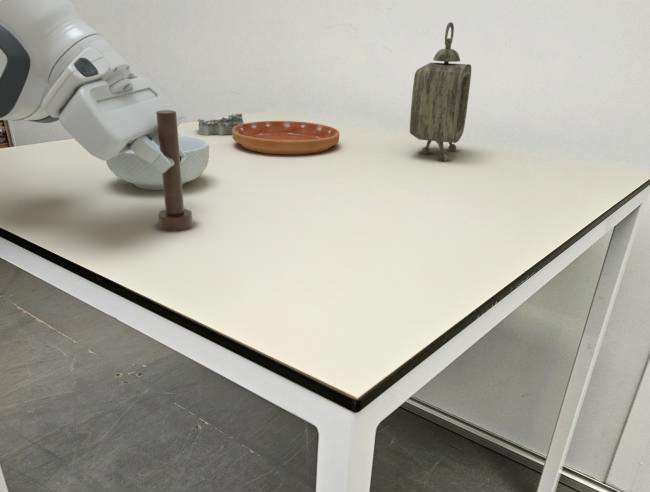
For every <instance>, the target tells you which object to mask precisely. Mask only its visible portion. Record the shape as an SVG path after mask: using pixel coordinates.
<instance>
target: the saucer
mask: <svg viewBox="0 0 650 492" xmlns="http://www.w3.org/2000/svg"><path fill="white" fill-rule="evenodd" d="M231 135H232V140H233V141H235V142H236V143H238V144H240V145H241V147H243V148H244V149H247V150H250V151H253V152H257V153H262V154H267V155H268V154H269V155H280V156H281V155H283V156H285V155H286V156H287V155H289V156H292V155H294V156H295V155H296V156H297V155H298V156H299V155H308V154H309V155H310V154H315V153H316V154H317V153H321V152H325V151H328V150H329V149H331V147H333V146H335V145H337V144H338V143H339V142H340V131H339V130H338V129H337V128H335V127H332V126H329V125H325V124H321V123H314V122H306V121H293V120H261V121H252V122H244V124H241V125H237V126H235V127H234V128H233V129H232V134H231Z"/></svg>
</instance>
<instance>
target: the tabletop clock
mask: <svg viewBox="0 0 650 492" xmlns="http://www.w3.org/2000/svg"><path fill="white" fill-rule="evenodd" d="M449 31H450V37H449V38H448V35H449ZM454 32H455V27H454V23H453V22H452V21H450V22H448V23H447V25H446V28H445V34H444V46H445V47H444V48H441V49H439V50H438V51H437V52H436V53H435V55H434V57H433V59H432V60H433V61H435V62H428V63H426V64H425V65H423V66H421V67H419V68H418V69H417V70H416V71H415V72H414V77H413V84H412V85H413V86H412V95H411V104H410V120H409V134H410V135H411V136H413V137H414V138H416V139H417V140H419V141H426V144H425V145H426V146H425V147H423V148H422V149H421V154H422V155H429V153H430V151H431V150H430V148H429V147H430V145H431V143H432V142H435V143H436V144H437V145H438V148H439V151H440V155H439V161H440V162H447V161H448V158H449V157H448V155H447V154H446V153H445V151H444V143H448V144H449V145H448V151H449V152H455V151H456V150H457V145H456V144H457V143H458V142H459V141H460V139H462V136H463V133H464V131H465V126H466V125H465V124H466V118H467V112H468V105H469V97H470V88H471V81H472V80H471V78H472V65H471V64H470V63H469V64H467V63H457V62H461V58H460V55H459V53H458V51H457V50H455V49H453V48H452V44H453V39H454V34H455V33H454ZM450 62H452V63H450Z"/></svg>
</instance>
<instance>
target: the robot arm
mask: <svg viewBox="0 0 650 492" xmlns="http://www.w3.org/2000/svg"><path fill="white" fill-rule="evenodd" d="M160 110H172V111H176V117H177V128H178V127H179V126H180V125H181V124H182V122H183V121H184V120H185V114H184V112H183V110H182V108H181V107H180V106H179V105H178V104H177V103H176V102H175V101H174V100H173V99H172V98H171V97H170V96H169V95H168V94H167V93H166V92H165V91H163V89H161V88H160V87H159V86H158V85H157V84H156V83H155V82H153V81H152V80H151V79H149V78H147V77H144V76H139V77H138V76H136V75H135V74H134V73H132V72H131V66H130V65H129V64H128V62H127V61H126V60H125V59H124V58H123V57H122V56H121V55H120V54H119V52H118V51H117V50H116V49H115V48H114V47H113V46H112V45H111V44H110V43H109V42H108V40H106V38H104V36H102V34H101V33H100V32H99V31H98V30H95V29H94V28H93V27H91V26H90V25H88V24H87V23H86V21H84V19H83V18H82V17H81V14H80V13H79V11H78V9H77V8H76V7H75V5H74V4H73V3H72V2H71V1H70V0H0V121H10V122H11V121H12V122H14V121H15V122H20V121H21V122H22V121H28V122H33V123H40V124H52V123H55V122H57V121H58V122H59V124H61V126H62V127H63V128H64V130H65V131H66V132H67V133H68V134H69V135H70V136H71V137H72V138H73V139H75V141H76V143H78V144H79V145H80V146H81V147H82V148H84V150H85V151H87V153H89V154H90V155H91V156H93V157H94V158H96V159H99V160H101V161H104V162H106V160H108V159H110V158H113V157H115V156H117V155H120V154H122V153H125V152H127V151H129V150H132V151H133V152H134V153H135V154H136V155H137V156H138V157H140V158H142V159H144V160H146V161H147V162H149V163H151V164H153V165H154V166H155V167H156V168H157V169H158V170H159V171H160V172H161V173H165V172H166V171H168V170H169V169H170V168H171V167H172V166H173V165H174V160H173V159H171V158H170V156H169V155H168V154H167V153H166V152H165V153H162V152H161V151H159V150H158V149H157V148H156V147H154V146H153V145H152V144H151V143H152V142H151V141H154V142H155V143H156V144H157V145H158V146H159V136H158V125H157V115H156V112H157V111H160ZM179 154H180V164H181V163H182V162H183V161H184V160H185V159H186V154H185V153H184V152H183V151H182V150H181V149H180V148H179Z"/></svg>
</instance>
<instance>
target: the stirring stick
mask: <svg viewBox="0 0 650 492" xmlns="http://www.w3.org/2000/svg"><path fill="white" fill-rule="evenodd" d="M156 115H157V125H158V136H159V146H160V151H161V152H162V153H165V152H166V153H167V154H168V155H169V156H170V158H171V159H173V160H174V165H173V166H172V167H171V168H170V169H169V170H168V171H166V172H165V173H162V178H163V188H164V189H163V197H164V208H165V209H162V210H160V211H159V212H158V214H157V216H158V224H159V229H160V230H162V231H166V232H183V231H187V230H190V229H192V228H193V227H194V226H193V225H194V224H193V212H192V210H189V209H187V208H185V205H184V203H185V202H184V193H183V185H182V179H181V166H180V154H179V142H178V135H179V131H178V127H177V117H176V111H172V110H160V111H157V112H156Z"/></svg>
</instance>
